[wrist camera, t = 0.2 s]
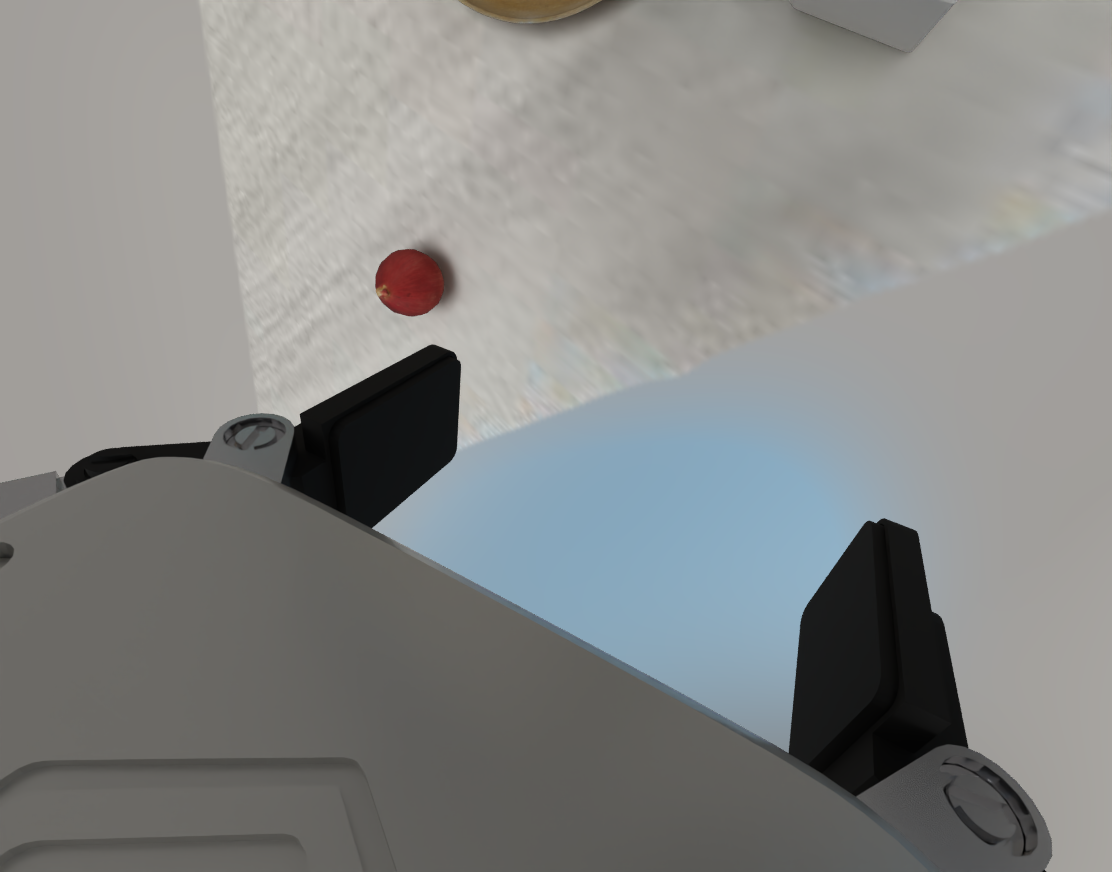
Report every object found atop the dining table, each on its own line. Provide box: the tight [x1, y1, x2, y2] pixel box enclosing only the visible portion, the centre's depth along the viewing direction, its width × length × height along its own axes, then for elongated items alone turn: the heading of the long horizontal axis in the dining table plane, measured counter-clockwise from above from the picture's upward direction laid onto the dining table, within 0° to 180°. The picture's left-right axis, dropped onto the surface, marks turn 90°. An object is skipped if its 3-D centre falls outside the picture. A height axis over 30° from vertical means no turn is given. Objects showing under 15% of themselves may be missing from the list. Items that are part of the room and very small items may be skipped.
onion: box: [375, 249, 444, 316], centre depth 46 cm, size 6×6×8 cm
